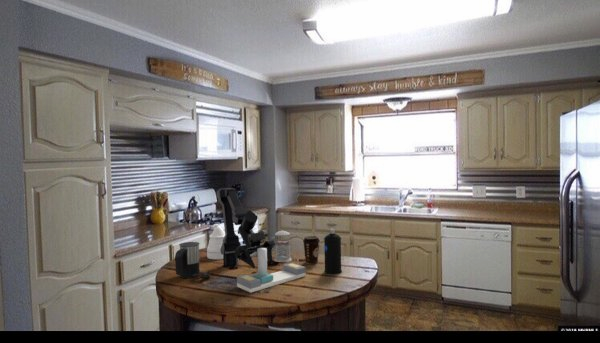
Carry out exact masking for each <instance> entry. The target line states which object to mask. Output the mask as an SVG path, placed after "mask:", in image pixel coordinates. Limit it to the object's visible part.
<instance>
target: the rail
mask: <svg viewBox="0 0 600 343" xmlns="http://www.w3.org/2000/svg"><path fill="white" fill-rule="evenodd" d="M306 268H307V267H306V266H303V265H301V264H297V263H293V262H289V263H285V264H282V270H279V271H276V272H275V271H274V272H272V273H270V274H271V275H273V280H272V281H268V282H265V283H261V280H260V279H257V278H255V277H252V275H249V274H244V275H239V276H237V277H236V287H237V288H238V289H239V288H240V289H242V290H244V291H245V292H249V293H250V294H251V293H254V292H255V293H256V292H257V291H261V290H264V289H267V288H271V287H275V286H277V285H280V284H283V283H288V282H291V281H294V280H297V279H301V278H303V277H306V276H307V269H306Z"/></svg>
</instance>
